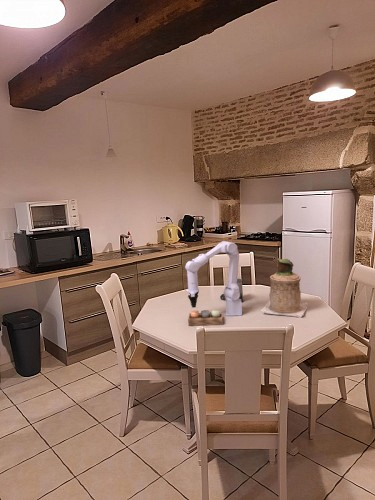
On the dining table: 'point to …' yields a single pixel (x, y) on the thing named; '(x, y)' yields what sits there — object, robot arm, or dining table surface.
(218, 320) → the brown wooden flat frame
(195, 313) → the peach rounded block
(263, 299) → the dining table surface
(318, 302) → the dining table surface
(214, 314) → the key sage
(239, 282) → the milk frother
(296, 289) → the cookie jar
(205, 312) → the key slate
